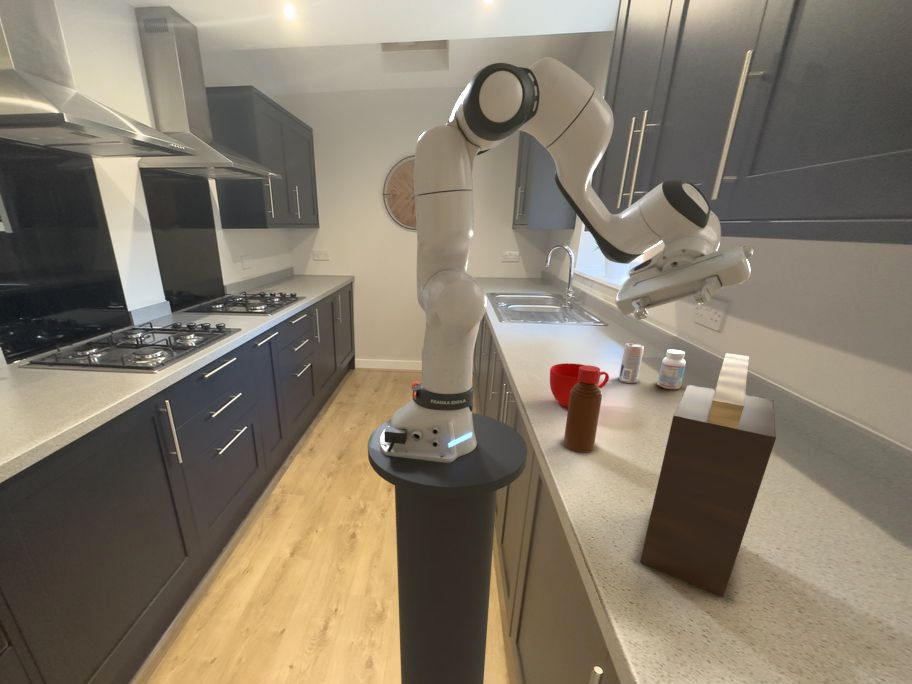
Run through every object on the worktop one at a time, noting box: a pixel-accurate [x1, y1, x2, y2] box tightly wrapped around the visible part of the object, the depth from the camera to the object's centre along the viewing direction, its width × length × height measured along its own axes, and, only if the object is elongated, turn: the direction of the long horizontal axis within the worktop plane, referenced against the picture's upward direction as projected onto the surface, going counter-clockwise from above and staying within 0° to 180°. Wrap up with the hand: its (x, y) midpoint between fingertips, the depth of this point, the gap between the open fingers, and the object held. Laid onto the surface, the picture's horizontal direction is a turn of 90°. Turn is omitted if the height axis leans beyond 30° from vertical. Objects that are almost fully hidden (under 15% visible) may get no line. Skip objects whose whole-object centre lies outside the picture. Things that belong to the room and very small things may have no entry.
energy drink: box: [618, 342, 645, 384], centre depth 131 cm, size 5×5×12 cm
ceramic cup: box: [549, 362, 610, 408], centre depth 115 cm, size 13×17×10 cm
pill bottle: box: [657, 349, 687, 390], centre depth 125 cm, size 6×6×11 cm
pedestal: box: [639, 384, 777, 597], centre depth 59 cm, size 14×10×24 cm
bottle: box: [563, 381, 603, 453], centre depth 91 cm, size 6×6×18 cm
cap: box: [578, 364, 601, 384], centre depth 88 cm, size 4×4×3 cm
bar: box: [707, 352, 750, 429], centre depth 58 cm, size 25×3×3 cm, turn 140°
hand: (668, 308), depth 69 cm, fingers open, 8 cm apart
